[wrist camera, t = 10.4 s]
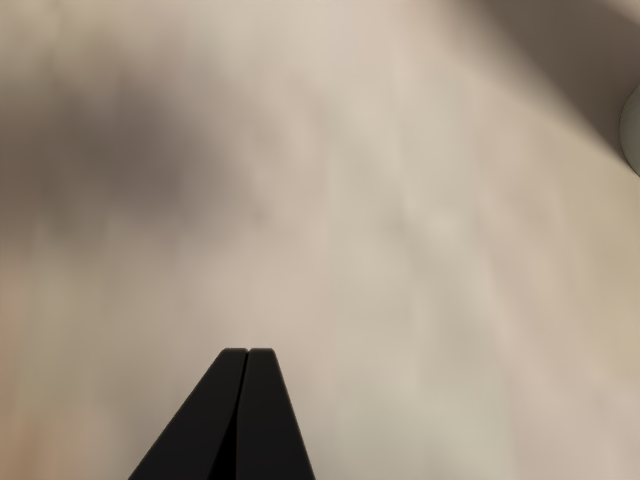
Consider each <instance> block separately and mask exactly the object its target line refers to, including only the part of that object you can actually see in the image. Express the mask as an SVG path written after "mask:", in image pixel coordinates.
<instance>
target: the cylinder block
mask: <svg viewBox="0 0 640 480" xmlns="http://www.w3.org/2000/svg"><path fill="white" fill-rule="evenodd" d="M619 136H620V143H621V146H622V150H623V153H624V155H625V157H626V159H627V161H628V162H629V164H630V166H631V167H632V168H633V170H634V171H635V172H636V173H637V174H638V175H639V176H640V85H639V86H638V87H637V88H636V89H635V90H634V91H633V92H632V94H631V95H630V96H629V98H628V100H627V101H626V103H625V106H624V108H623V110H622V114H621V118H620V125H619Z"/></svg>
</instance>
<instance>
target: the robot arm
mask: <svg viewBox="0 0 640 480" xmlns="http://www.w3.org/2000/svg"><path fill="white" fill-rule="evenodd" d="M128 480H316V479H315V475H314V472H313V469H312V466H311V463H310V460H309V457H308V454H307V451H306V447H305V444H304V441H303V438H302V435H301V432H300V429H299V426H298V423H297V419H296V416H295V413H294V410H293V407H292V404H291V401H290V398H289V395H288V391H287V388H286V385H285V382H284V379H283V376H282V373H281V370H280V366H279V363H278V360H277V357H276V354H275V351H274V350H273V349H271V348H252V349H250V351H248V350H247V349H245V348H225V349H224V350H222V351H221V353H220V354H219V355H218V357H217V358H216V359H215V361H214V362H213V363H212V365H211V366H210V368H209V369H208V370H207V372H206V373H205V374H204V376H203V377H202V378H201V380H200V381H199V383H198V384H197V385H196V387H195V388H194V389H193V391H192V392H191V394H190V395H189V396H188V398H187V399H186V400H185V402H184V403H183V404H182V406H181V407H180V409H179V410H178V411H177V413H176V414H175V415H174V417H173V418H172V420H171V421H170V422H169V424H168V425H167V426H166V428H165V429H164V430H163V432H162V433H161V435H160V436H159V437H158V439H157V440H156V441H155V443H154V444H153V446H152V447H151V448H150V450H149V451H148V452H147V454H146V455H145V456H144V458H143V459H142V461H141V462H140V463H139V465H138V466H137V467H136V469H135V470H134V472H133V473H132V474H131V476H130V477H129V478H128Z"/></svg>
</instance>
